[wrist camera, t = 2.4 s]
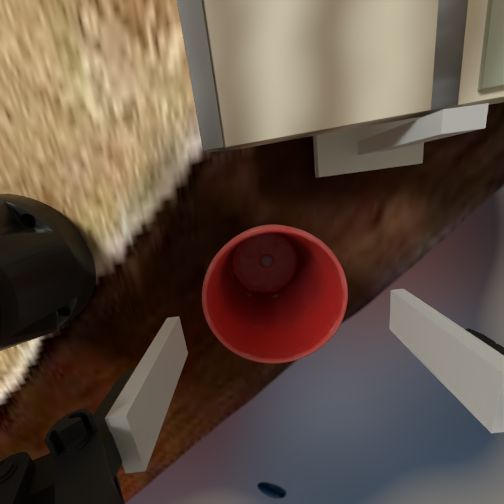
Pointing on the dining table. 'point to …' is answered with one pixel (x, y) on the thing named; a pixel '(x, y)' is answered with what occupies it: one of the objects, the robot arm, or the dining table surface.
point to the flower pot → (274, 294)
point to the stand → (391, 141)
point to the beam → (335, 64)
